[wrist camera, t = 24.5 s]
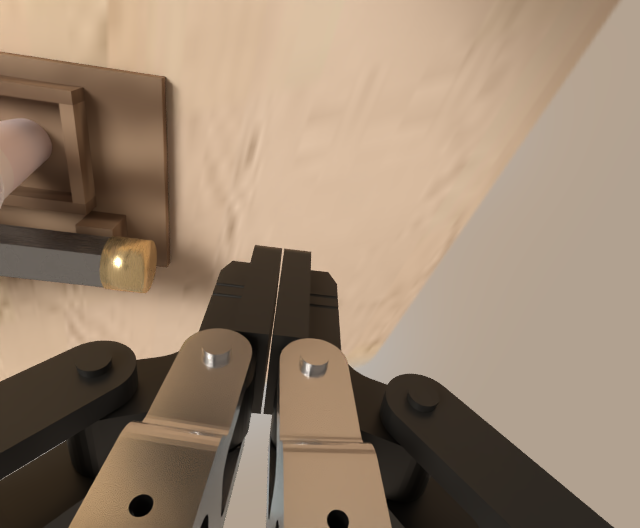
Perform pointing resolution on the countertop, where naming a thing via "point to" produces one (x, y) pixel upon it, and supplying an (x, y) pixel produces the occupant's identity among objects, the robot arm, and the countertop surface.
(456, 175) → the countertop surface
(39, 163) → the smoothie
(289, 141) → the countertop surface
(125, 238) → the bar
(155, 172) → the holder
